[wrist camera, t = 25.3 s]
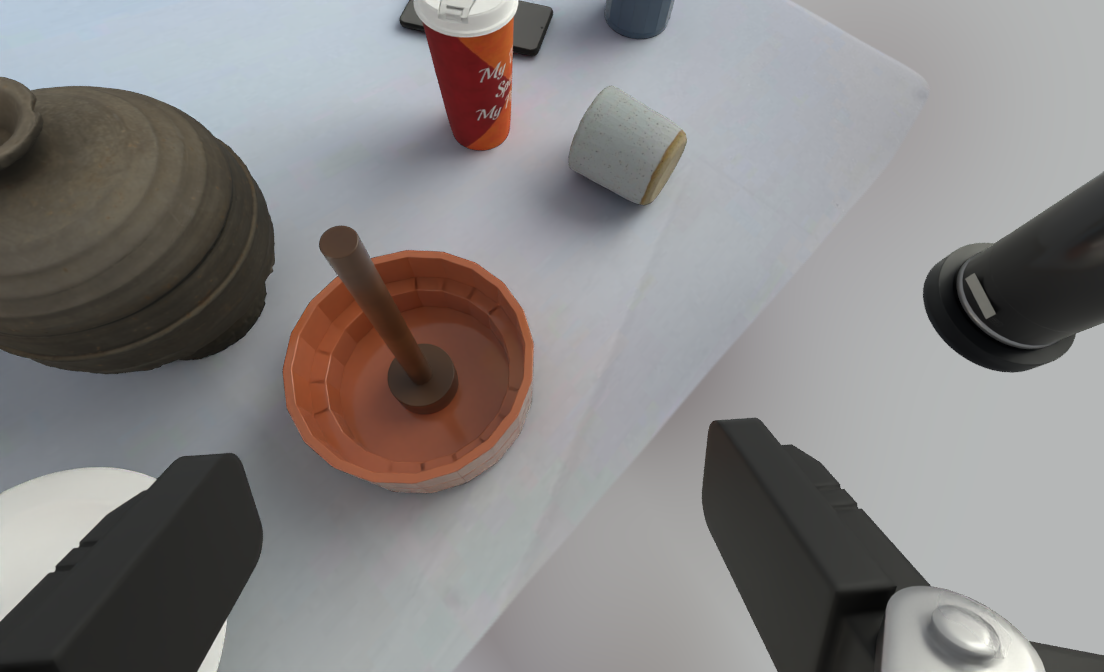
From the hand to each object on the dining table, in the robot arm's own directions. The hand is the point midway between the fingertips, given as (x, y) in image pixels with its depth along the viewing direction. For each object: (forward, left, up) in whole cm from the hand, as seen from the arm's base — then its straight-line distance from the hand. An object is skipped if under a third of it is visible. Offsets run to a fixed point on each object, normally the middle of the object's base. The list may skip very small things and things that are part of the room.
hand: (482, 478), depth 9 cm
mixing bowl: (+4, -12, -30) cm, 33 cm away
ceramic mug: (-18, -28, -30) cm, 45 cm away
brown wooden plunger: (+4, -12, -29) cm, 32 cm away
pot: (+20, -24, -30) cm, 44 cm away
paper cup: (-6, -36, -30) cm, 48 cm away
